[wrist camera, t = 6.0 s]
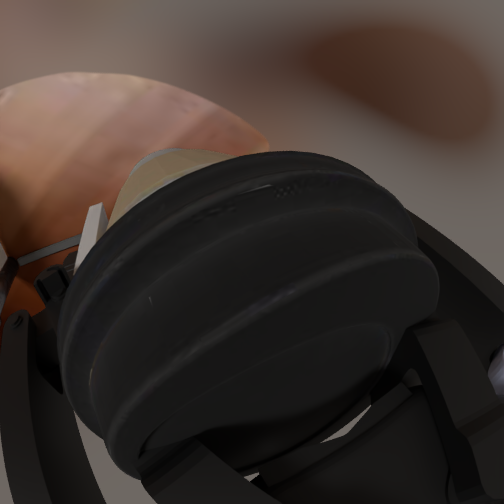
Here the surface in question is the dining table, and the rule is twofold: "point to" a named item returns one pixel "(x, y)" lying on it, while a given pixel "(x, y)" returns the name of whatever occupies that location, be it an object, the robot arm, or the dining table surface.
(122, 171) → the dining table surface
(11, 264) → the hinge post
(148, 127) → the dining table surface
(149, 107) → the dining table surface
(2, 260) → the gate
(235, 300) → the coffee cup
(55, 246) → the bar
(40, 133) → the dining table surface
